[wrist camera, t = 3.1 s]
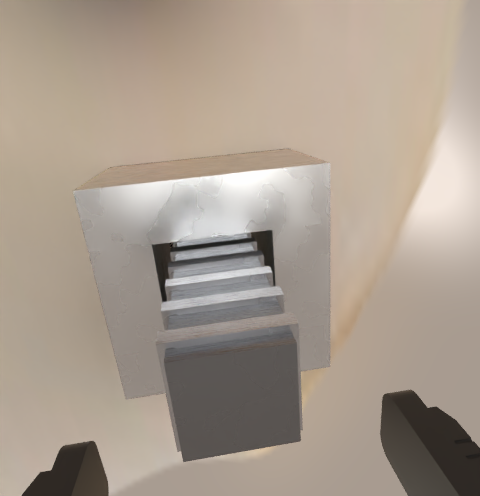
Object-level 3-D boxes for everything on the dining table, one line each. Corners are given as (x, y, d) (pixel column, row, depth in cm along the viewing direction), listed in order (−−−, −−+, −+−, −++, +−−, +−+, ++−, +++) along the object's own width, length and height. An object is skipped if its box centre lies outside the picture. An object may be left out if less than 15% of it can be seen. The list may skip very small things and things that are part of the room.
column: (244, 265, 27) (307, 445, 12) (185, 273, 27) (176, 468, 12) (239, 208, 26) (304, 334, 11) (176, 215, 25) (153, 357, 10)
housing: (294, 308, 29) (330, 374, 22) (144, 330, 28) (128, 407, 21) (288, 148, 25) (330, 162, 17) (110, 167, 24) (72, 191, 16)
